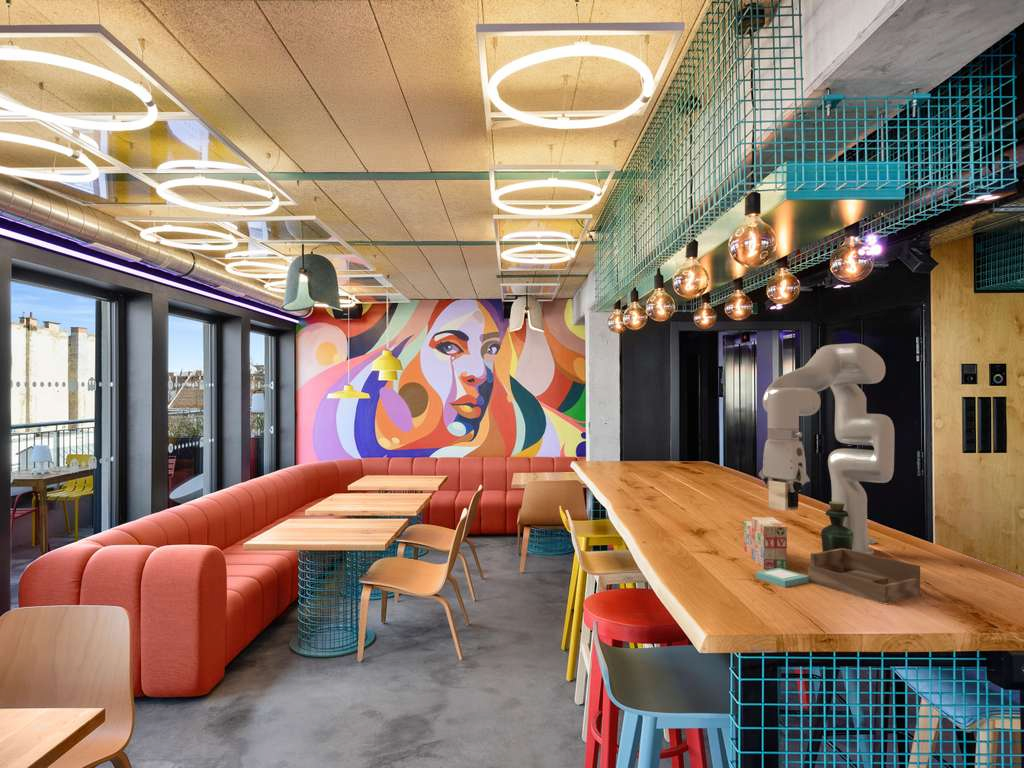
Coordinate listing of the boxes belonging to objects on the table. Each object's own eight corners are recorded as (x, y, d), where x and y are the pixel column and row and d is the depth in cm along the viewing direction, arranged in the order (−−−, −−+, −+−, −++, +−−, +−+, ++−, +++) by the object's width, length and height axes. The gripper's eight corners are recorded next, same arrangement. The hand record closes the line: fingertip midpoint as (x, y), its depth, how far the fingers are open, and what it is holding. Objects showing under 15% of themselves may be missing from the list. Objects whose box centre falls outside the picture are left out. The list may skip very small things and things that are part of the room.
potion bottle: (815, 563, 179) (815, 500, 180) (843, 563, 179) (843, 500, 180) (830, 571, 171) (829, 505, 172) (859, 571, 171) (859, 505, 172)
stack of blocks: (743, 551, 194) (743, 511, 195) (764, 551, 194) (764, 511, 194) (763, 570, 173) (763, 525, 173) (787, 570, 172) (787, 525, 173)
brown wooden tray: (842, 574, 169) (842, 548, 169) (920, 595, 151) (920, 565, 151) (808, 581, 162) (807, 554, 162) (885, 604, 144) (885, 573, 144)
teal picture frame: (778, 573, 169) (778, 567, 169) (808, 582, 161) (808, 575, 161) (755, 577, 165) (755, 571, 165) (784, 587, 157) (784, 580, 157)
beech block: (781, 506, 167) (781, 479, 167) (798, 509, 162) (798, 482, 162) (768, 507, 164) (768, 480, 164) (785, 510, 160) (785, 483, 160)
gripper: (822, 437, 158) (822, 509, 158) (765, 433, 173) (766, 499, 173) (802, 437, 154) (803, 512, 154) (746, 434, 169) (746, 501, 169)
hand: (783, 504), depth 163 cm, fingers closed on beech block, 5 cm apart
